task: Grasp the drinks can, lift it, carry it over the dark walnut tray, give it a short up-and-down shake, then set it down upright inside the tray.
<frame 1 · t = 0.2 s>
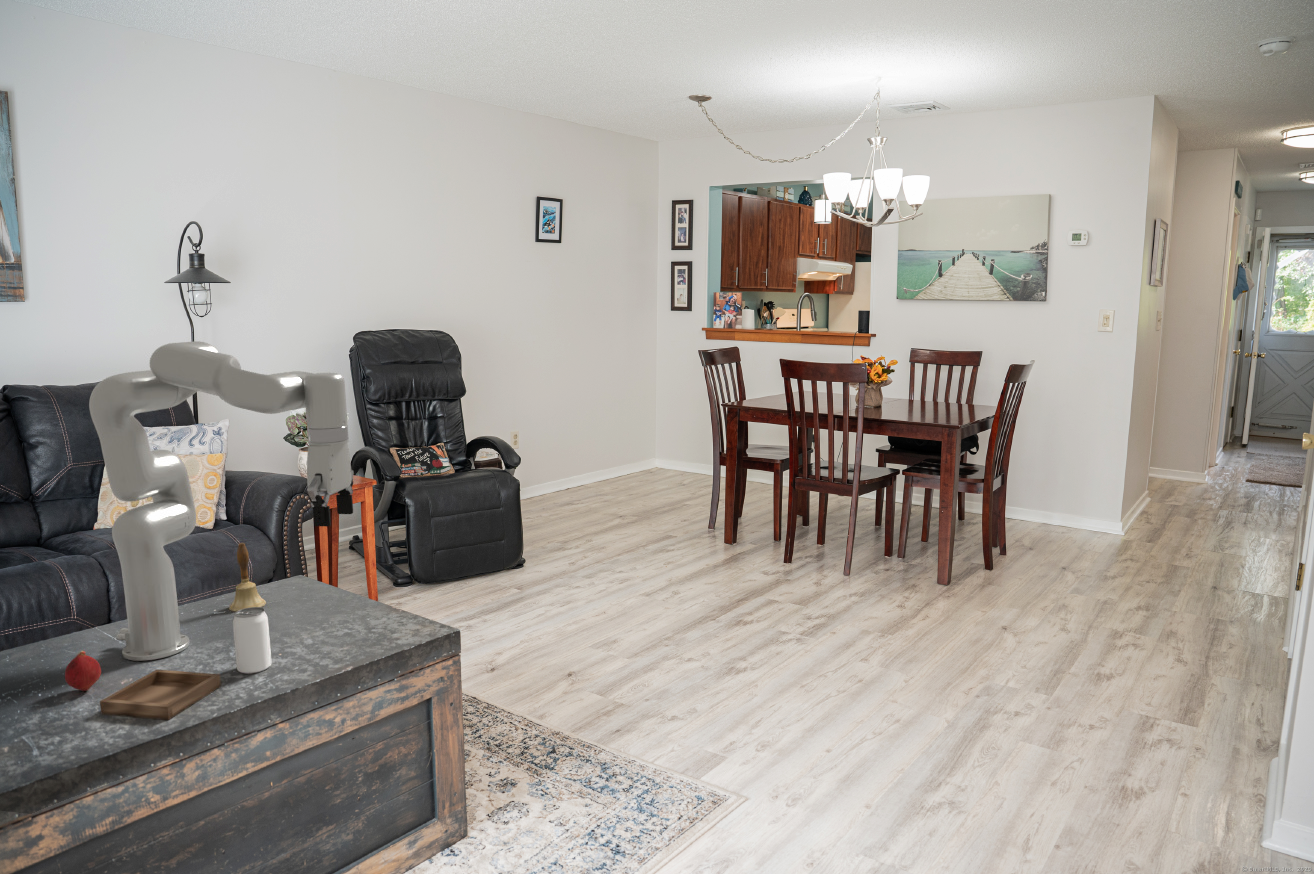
hand: (334, 519, 176), 31 cm above the table, tool pointing down, fingers open, 9 cm apart
can: (254, 668, 179), on the table
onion: (85, 691, 170), on the table
tray: (163, 699, 165), on the table
hand bell: (247, 606, 216), on the table
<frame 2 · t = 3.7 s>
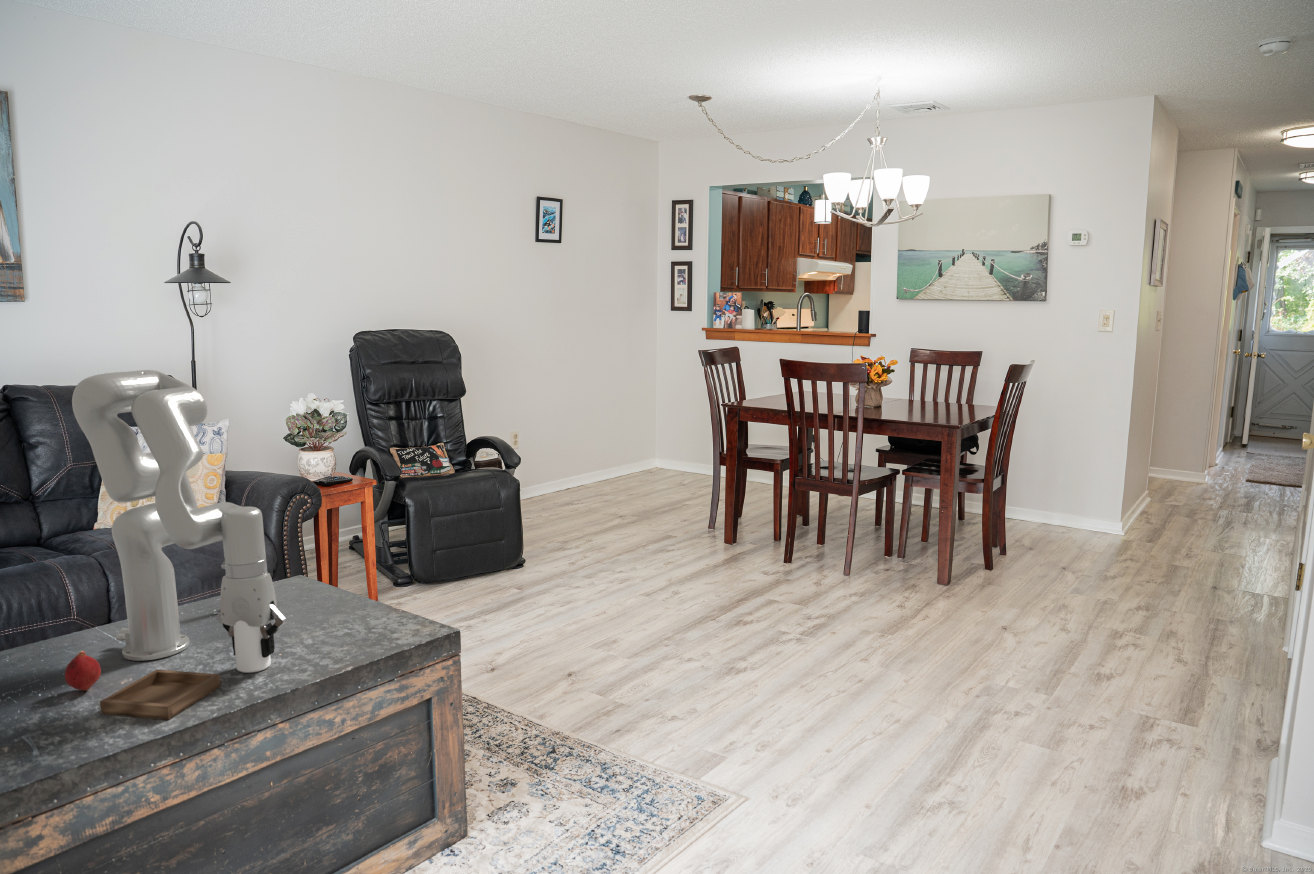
hand: (254, 653, 179), 3 cm above the table, tool pointing down, fingers closed on can, 5 cm apart
can: (253, 667, 179), on the table, touching gripper
everything else where it was.
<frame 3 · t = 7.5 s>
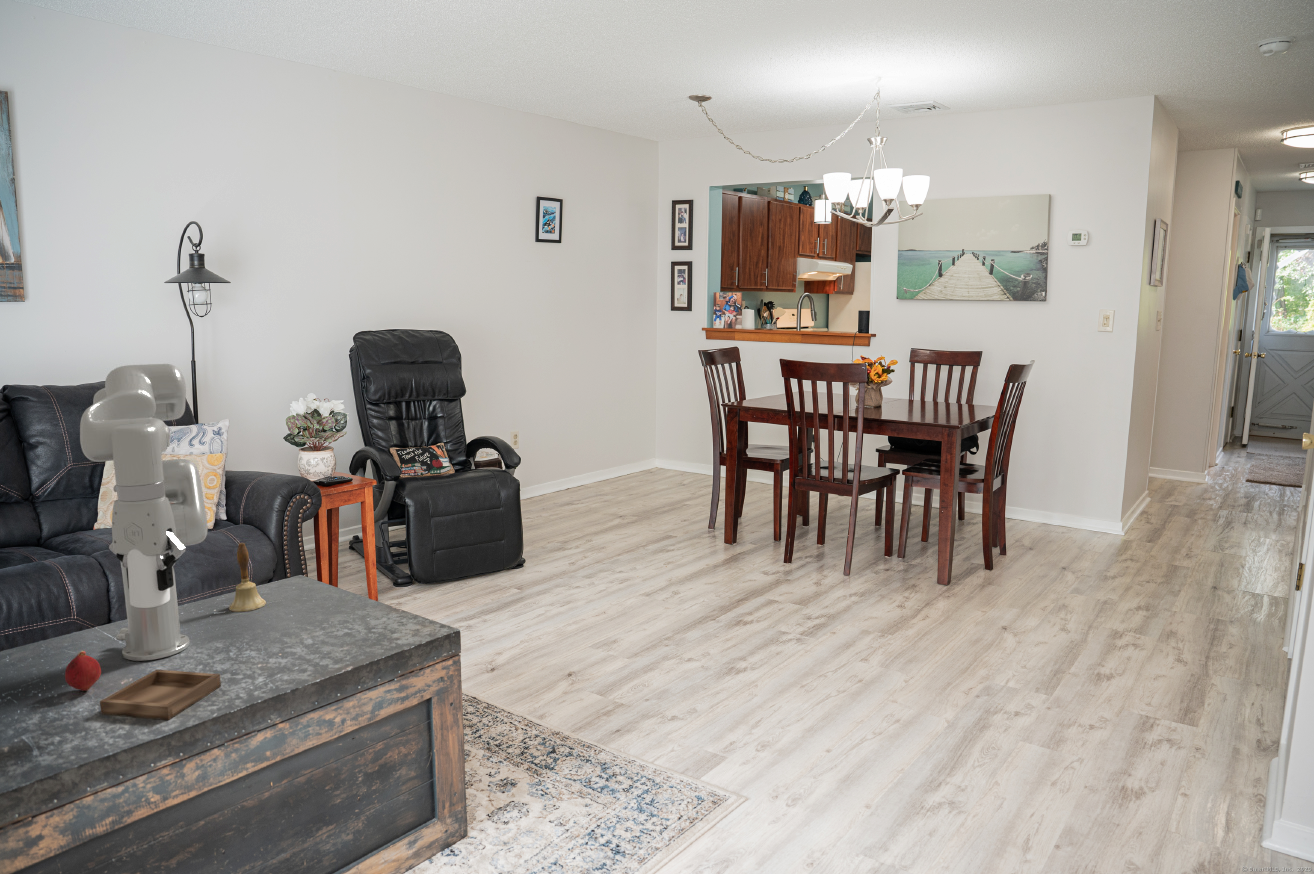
hand: (151, 586, 162), 22 cm above the table, tool pointing down, fingers closed on can, 5 cm apart
can: (150, 603, 163), point 19 cm above the table, touching gripper
everything else where it was.
when the fingers open (5 cm above the table, at t = 11.4 s): can stays where it is, resting on tray.
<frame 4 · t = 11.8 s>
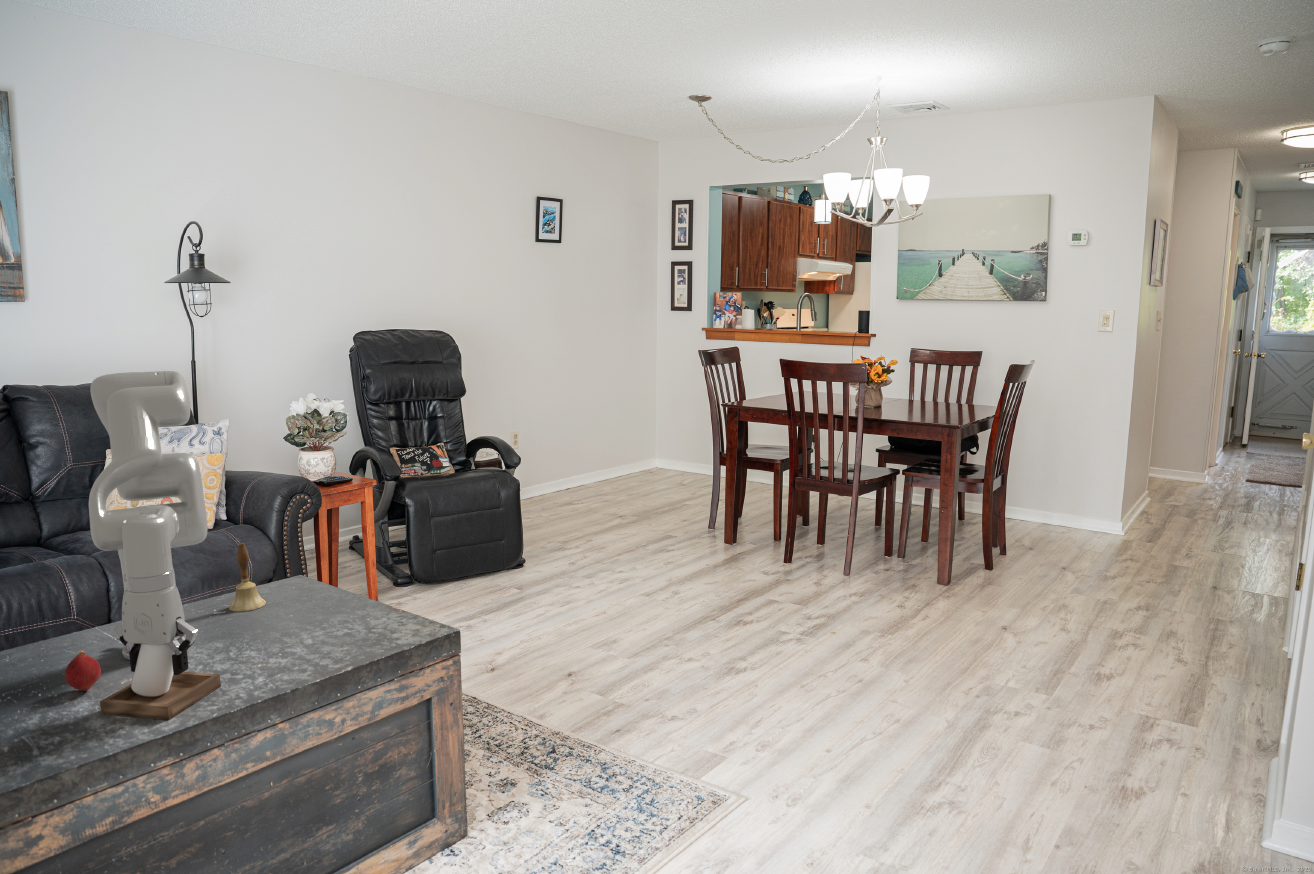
hand: (160, 670, 164), 6 cm above the table, tool pointing down, fingers open, 8 cm apart
can: (149, 689, 166), point 1 cm above the table, touching tray
everything else where it was.
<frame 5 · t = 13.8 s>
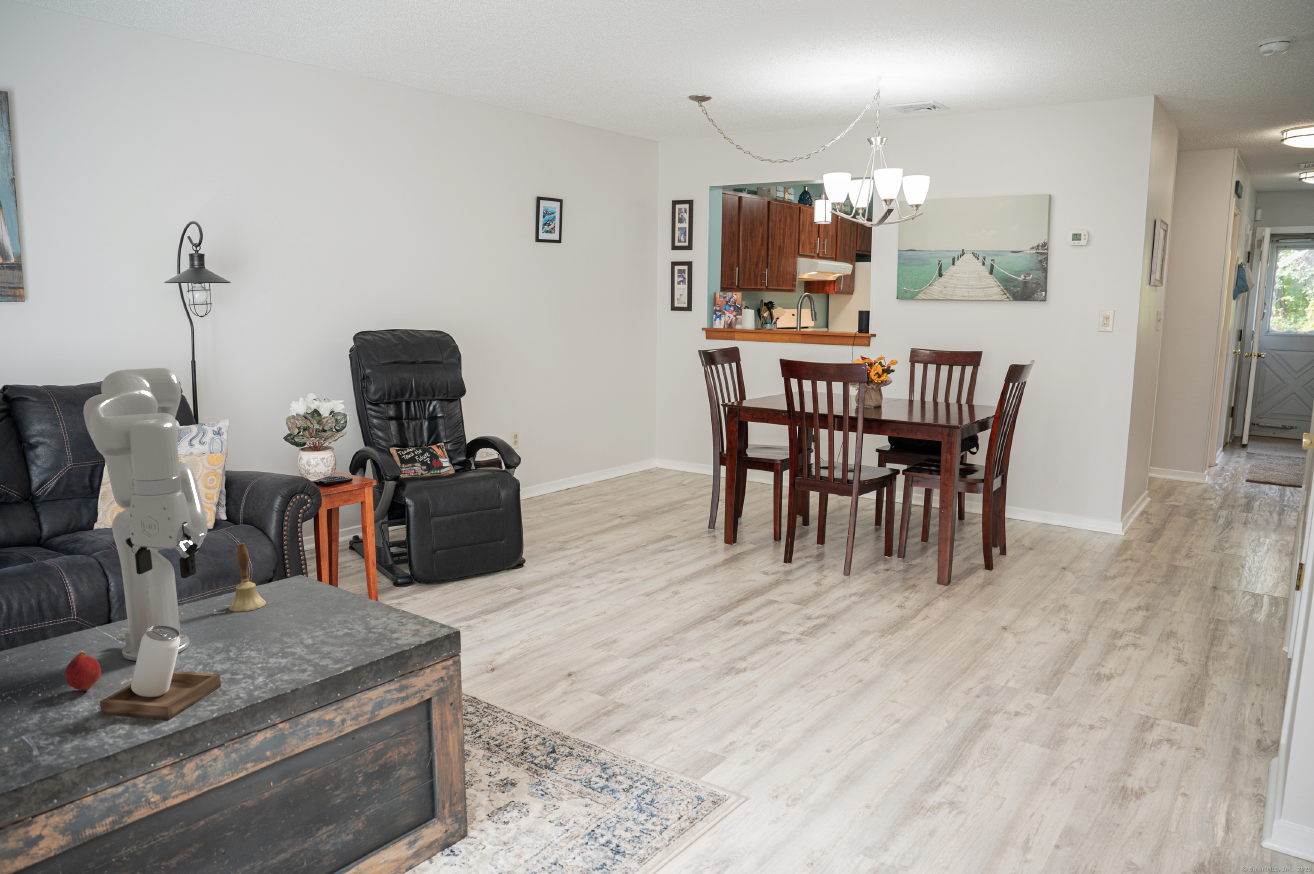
hand: (166, 573, 166), 23 cm above the table, tool pointing down, fingers open, 9 cm apart
nothing on the table moved.
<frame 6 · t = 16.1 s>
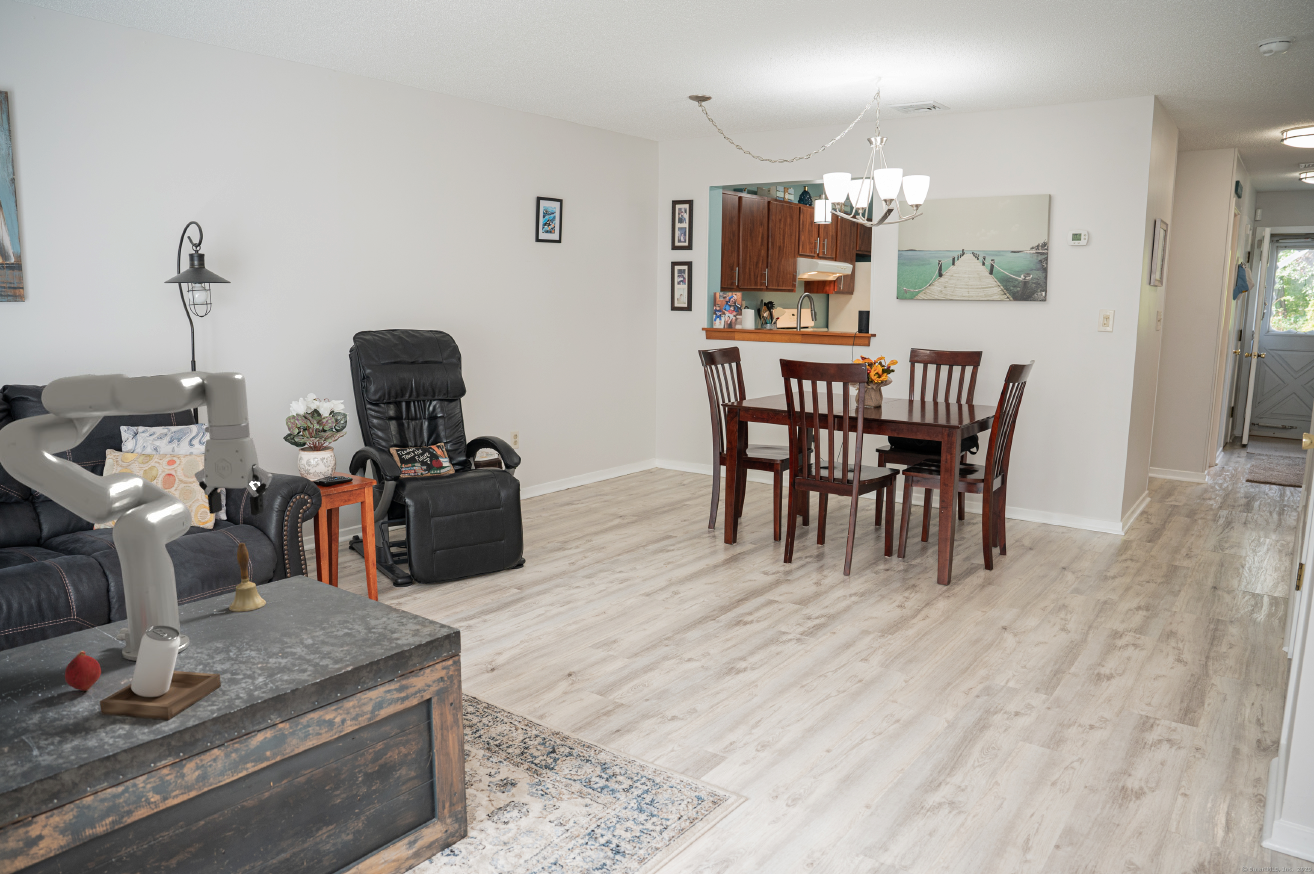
hand: (236, 513, 184), 30 cm above the table, tool pointing down, fingers open, 9 cm apart
nothing on the table moved.
at the end: can inside the target area on the tray (3.4 cm from its centre), point 1.4 cm above the tray's base; can tilted 19°; the gripper is holding nothing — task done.
